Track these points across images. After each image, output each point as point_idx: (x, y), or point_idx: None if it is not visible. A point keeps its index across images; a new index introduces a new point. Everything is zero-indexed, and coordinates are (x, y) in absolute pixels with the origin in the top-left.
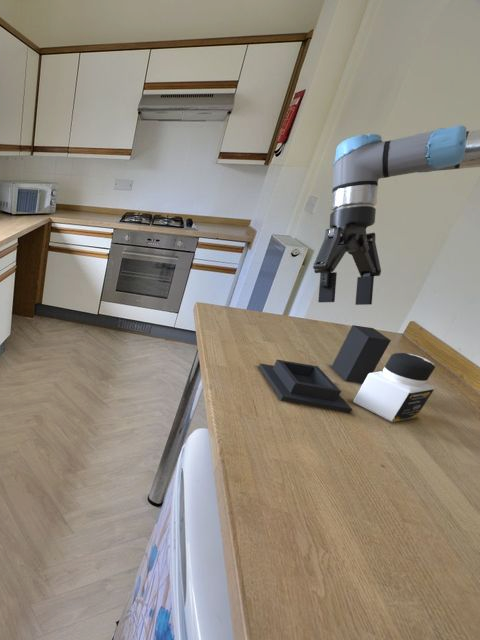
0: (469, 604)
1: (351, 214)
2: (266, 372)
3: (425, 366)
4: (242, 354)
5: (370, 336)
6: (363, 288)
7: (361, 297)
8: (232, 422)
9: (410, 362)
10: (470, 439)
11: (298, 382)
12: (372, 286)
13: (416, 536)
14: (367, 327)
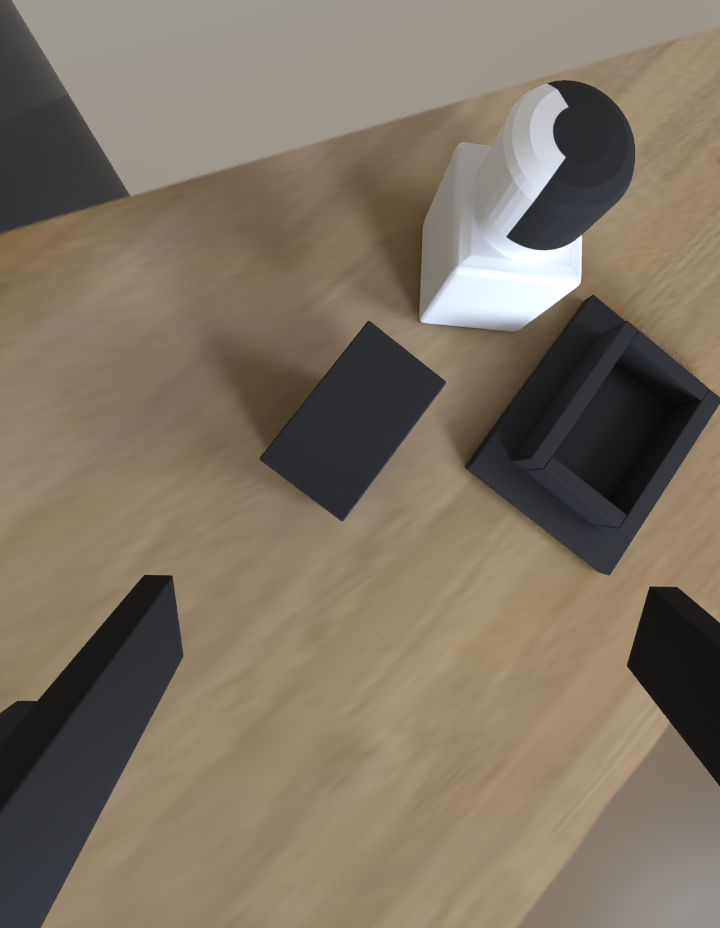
0: None
1: None
2: (645, 519)
3: (600, 93)
4: (572, 663)
5: (428, 383)
6: (100, 746)
7: (149, 673)
8: None
9: (629, 131)
10: (396, 121)
11: (706, 398)
12: (40, 711)
13: None
14: (290, 471)
